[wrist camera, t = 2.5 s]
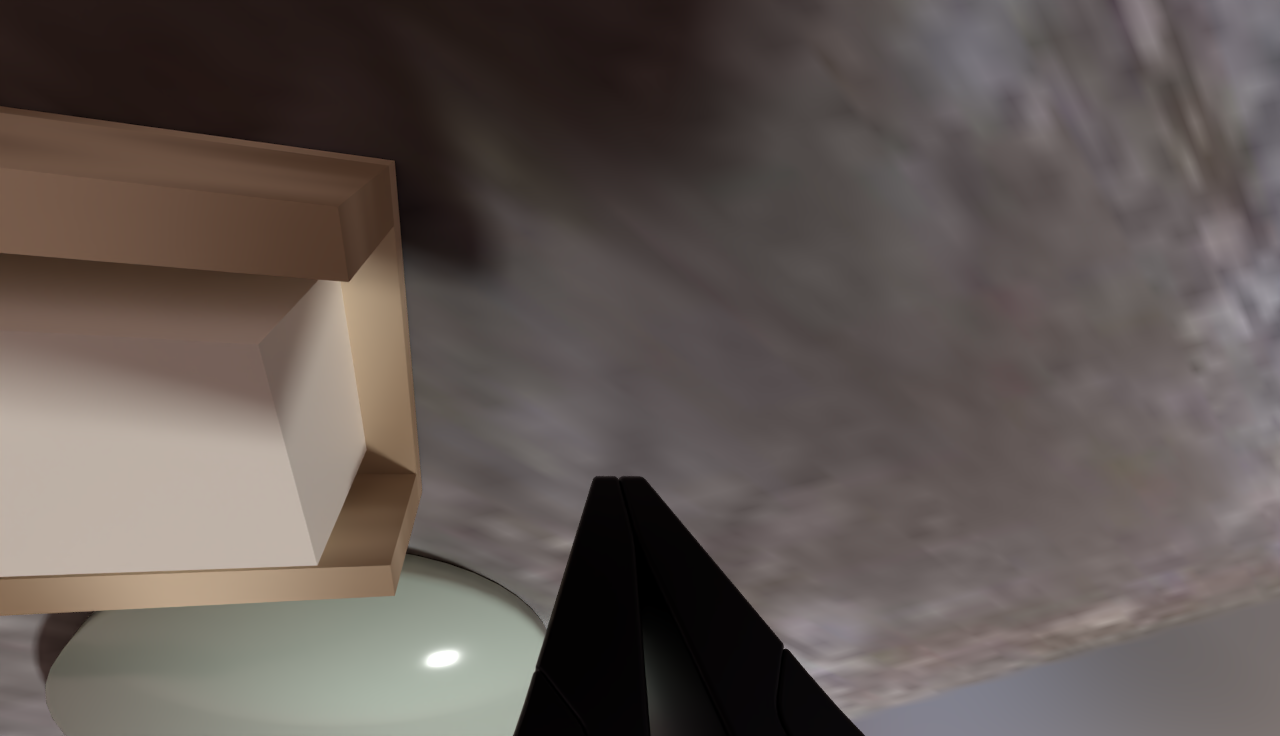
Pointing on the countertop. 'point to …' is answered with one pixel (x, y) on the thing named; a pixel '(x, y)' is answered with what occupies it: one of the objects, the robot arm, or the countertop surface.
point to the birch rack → (241, 243)
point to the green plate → (307, 664)
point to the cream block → (170, 417)
